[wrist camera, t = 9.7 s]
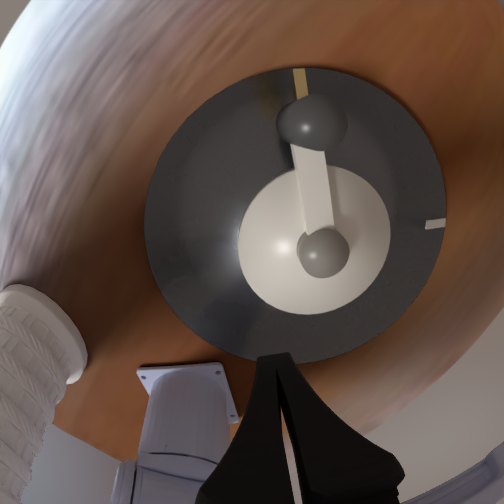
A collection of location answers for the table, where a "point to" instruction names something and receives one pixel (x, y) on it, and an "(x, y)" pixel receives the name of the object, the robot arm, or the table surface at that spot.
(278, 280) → the dial
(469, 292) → the table surface
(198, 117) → the dial plate
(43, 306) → the decorative container
